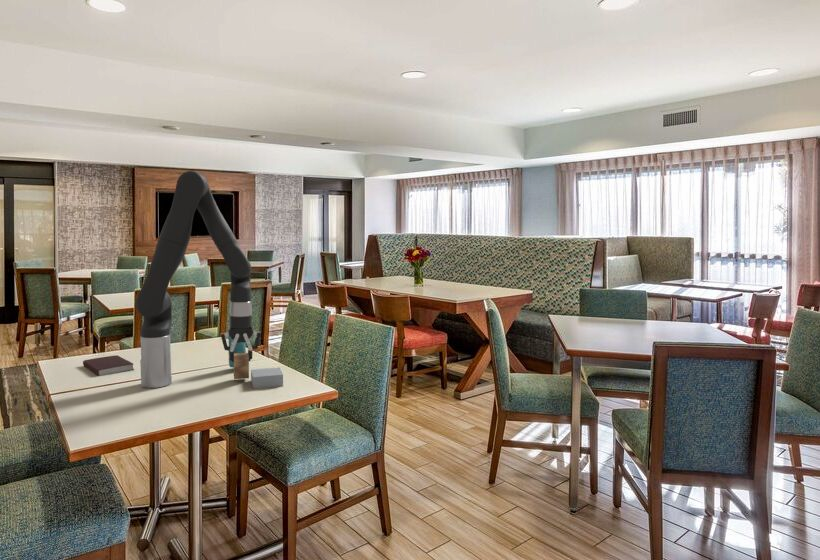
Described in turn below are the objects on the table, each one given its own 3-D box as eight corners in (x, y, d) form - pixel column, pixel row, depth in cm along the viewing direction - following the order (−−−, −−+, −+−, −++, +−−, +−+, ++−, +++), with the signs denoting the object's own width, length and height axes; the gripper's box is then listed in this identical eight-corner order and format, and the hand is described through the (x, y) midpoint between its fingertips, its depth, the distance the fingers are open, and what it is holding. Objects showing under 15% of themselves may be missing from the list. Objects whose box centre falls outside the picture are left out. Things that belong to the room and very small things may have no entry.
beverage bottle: (241, 372, 204) (240, 319, 202) (225, 371, 205) (223, 318, 203) (249, 367, 210) (248, 316, 208) (234, 366, 211) (232, 316, 209)
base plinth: (253, 388, 183) (252, 377, 183) (251, 380, 193) (251, 369, 192) (283, 385, 187) (282, 374, 186) (279, 378, 196) (279, 367, 196)
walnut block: (234, 379, 190) (233, 356, 189) (233, 375, 194) (233, 353, 193) (248, 378, 191) (248, 356, 190) (248, 374, 196) (247, 352, 195)
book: (97, 377, 196) (97, 369, 196) (82, 367, 210) (82, 359, 209) (134, 371, 205) (134, 363, 204) (118, 362, 218) (117, 354, 218)
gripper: (219, 316, 184) (219, 365, 186) (262, 314, 189) (262, 362, 191) (219, 312, 191) (219, 359, 193) (261, 311, 196) (261, 357, 198)
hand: (241, 360), depth 192 cm, fingers closed on walnut block, 5 cm apart
